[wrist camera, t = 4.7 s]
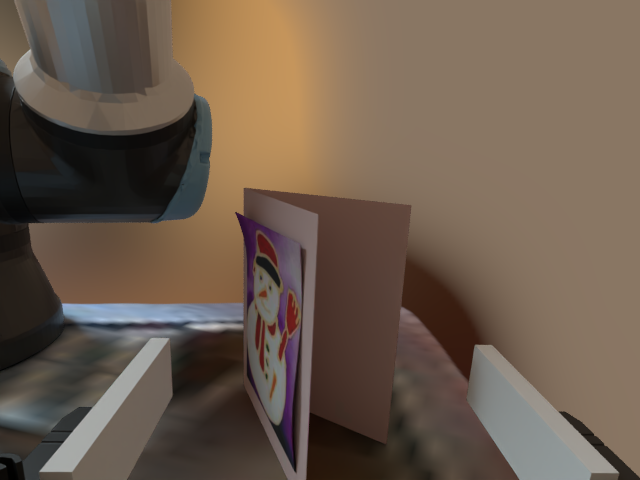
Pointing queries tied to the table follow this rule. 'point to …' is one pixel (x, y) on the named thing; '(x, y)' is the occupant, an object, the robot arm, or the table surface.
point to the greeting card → (320, 314)
